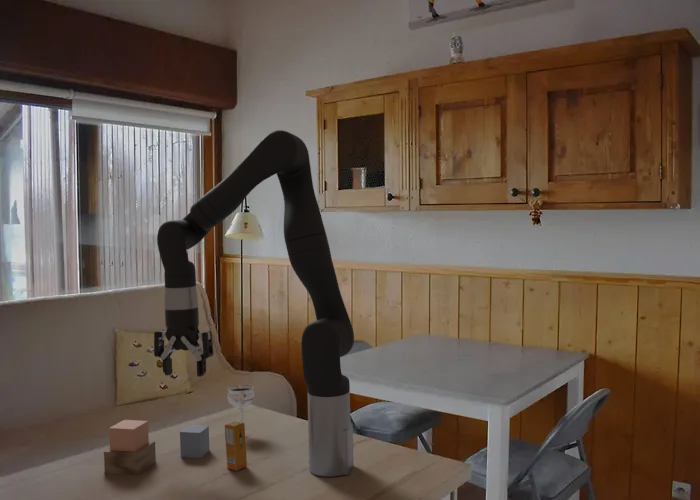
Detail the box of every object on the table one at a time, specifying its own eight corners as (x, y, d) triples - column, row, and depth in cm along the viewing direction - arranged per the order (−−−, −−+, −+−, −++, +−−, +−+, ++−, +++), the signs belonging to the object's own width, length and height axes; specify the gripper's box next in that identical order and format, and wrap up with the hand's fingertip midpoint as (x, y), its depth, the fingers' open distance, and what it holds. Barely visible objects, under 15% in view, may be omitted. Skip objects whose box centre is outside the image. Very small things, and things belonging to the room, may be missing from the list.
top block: (148, 442, 150) (147, 420, 150) (134, 451, 144) (133, 429, 144) (125, 441, 151) (124, 419, 151) (110, 450, 146) (109, 428, 145)
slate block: (209, 450, 158) (208, 426, 157) (200, 458, 153) (199, 432, 152) (190, 449, 159) (189, 425, 158) (180, 457, 154) (179, 431, 153)
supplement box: (236, 463, 149) (235, 420, 148) (247, 467, 146) (246, 422, 146) (225, 468, 146) (224, 423, 145) (236, 471, 144) (234, 426, 143)
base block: (155, 462, 151) (155, 441, 151) (138, 476, 143) (137, 453, 143) (124, 460, 153) (123, 439, 152) (104, 474, 145) (103, 451, 145)
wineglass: (223, 436, 167) (222, 390, 167) (237, 428, 173) (235, 383, 173) (247, 439, 165) (245, 392, 164) (259, 431, 171) (258, 385, 171)
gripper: (216, 304, 154) (219, 372, 155) (163, 303, 158) (166, 370, 159) (200, 308, 147) (203, 380, 148) (145, 308, 151) (148, 378, 152)
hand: (184, 375), depth 153 cm, fingers open, 8 cm apart
